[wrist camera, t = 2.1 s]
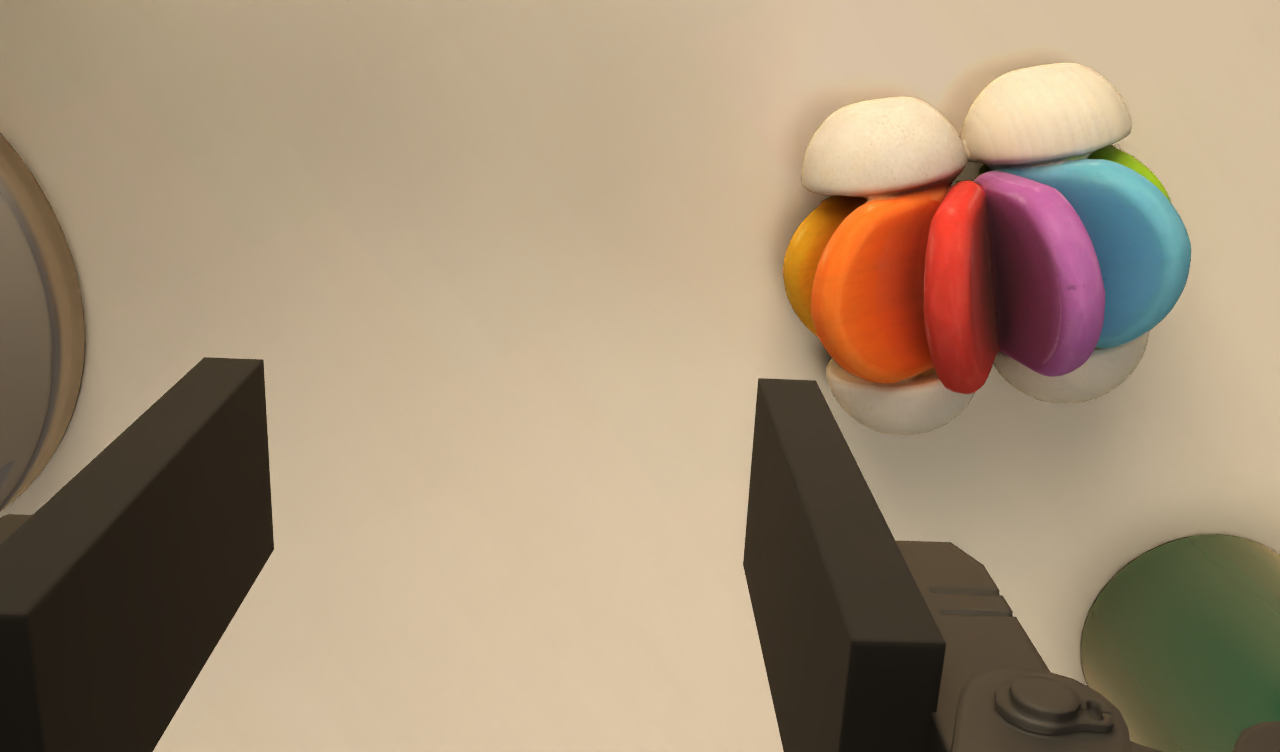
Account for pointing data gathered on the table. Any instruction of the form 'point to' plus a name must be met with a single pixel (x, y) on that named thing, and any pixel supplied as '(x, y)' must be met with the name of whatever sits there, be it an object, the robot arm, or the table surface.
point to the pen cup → (1189, 643)
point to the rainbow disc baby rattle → (982, 249)
